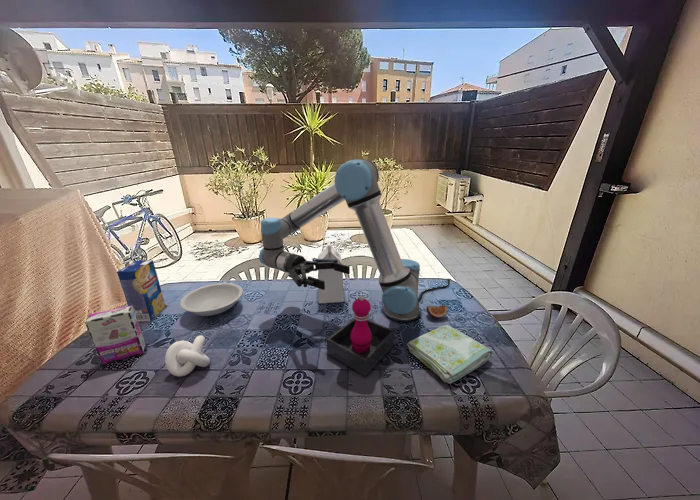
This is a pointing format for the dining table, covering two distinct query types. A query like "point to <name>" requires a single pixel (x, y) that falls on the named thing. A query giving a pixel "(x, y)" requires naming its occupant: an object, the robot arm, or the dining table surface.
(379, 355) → the open box
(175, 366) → the white knot sculpture
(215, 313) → the soup bowl
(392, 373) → the dining table surface
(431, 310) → the fruit slice
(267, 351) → the dining table surface
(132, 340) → the candy bar box
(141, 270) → the blue cracker box
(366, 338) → the pepper mill
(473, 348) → the towel
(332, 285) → the milk
